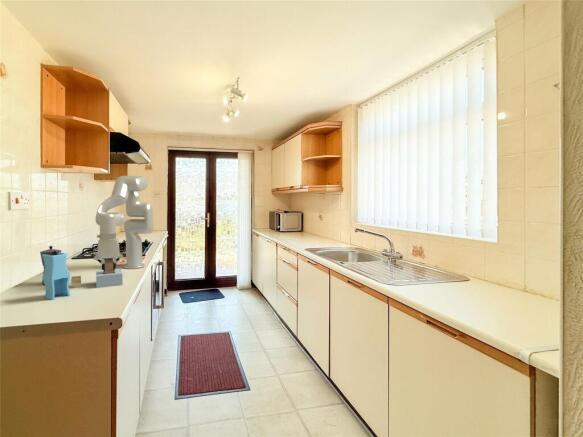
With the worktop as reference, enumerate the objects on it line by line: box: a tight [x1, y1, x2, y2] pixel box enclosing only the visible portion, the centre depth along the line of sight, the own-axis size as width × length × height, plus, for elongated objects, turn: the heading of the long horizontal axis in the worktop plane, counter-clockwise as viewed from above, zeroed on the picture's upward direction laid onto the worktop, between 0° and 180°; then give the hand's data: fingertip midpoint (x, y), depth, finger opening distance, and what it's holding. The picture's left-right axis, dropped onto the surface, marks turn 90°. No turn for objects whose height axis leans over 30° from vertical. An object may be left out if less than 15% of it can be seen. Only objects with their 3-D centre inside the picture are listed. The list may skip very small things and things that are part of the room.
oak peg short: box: [70, 275, 82, 289], centre depth 176 cm, size 4×4×5 cm
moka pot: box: [39, 245, 62, 285], centre depth 181 cm, size 10×15×20 cm, turn 55°
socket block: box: [95, 268, 124, 289], centre depth 182 cm, size 12×12×6 cm
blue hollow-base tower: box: [42, 251, 71, 301], centre depth 158 cm, size 8×8×20 cm
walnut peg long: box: [104, 258, 114, 274], centre depth 182 cm, size 4×4×12 cm
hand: (109, 270), depth 182 cm, fingers closed on walnut peg long, 4 cm apart
